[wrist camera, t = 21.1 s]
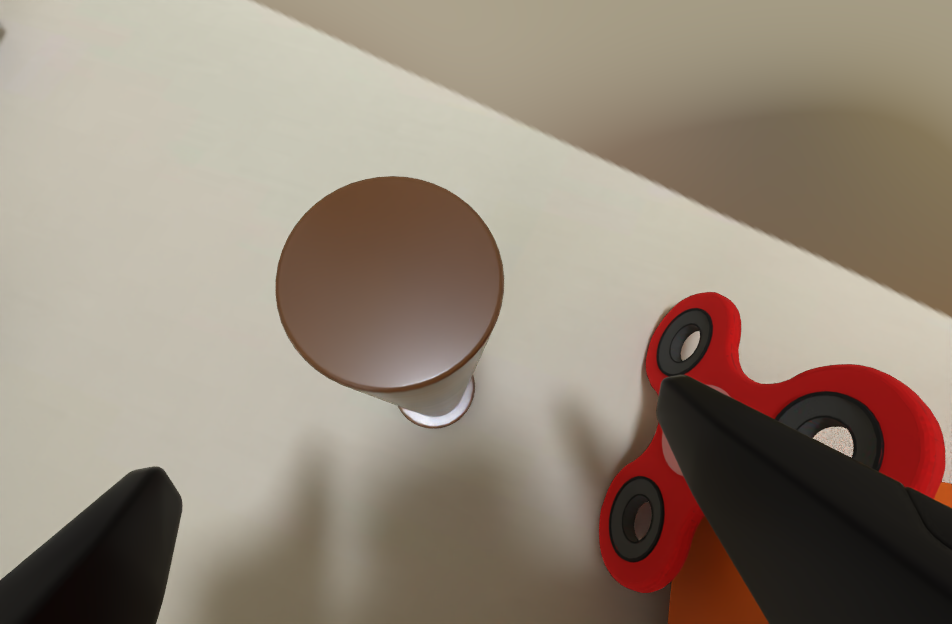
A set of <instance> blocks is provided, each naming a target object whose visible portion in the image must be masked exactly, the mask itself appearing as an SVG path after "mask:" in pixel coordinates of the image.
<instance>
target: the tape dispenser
mask: <svg viewBox="0 0 952 624" xmlns="http://www.w3.org/2000/svg"><path fill="white" fill-rule="evenodd" d="M934 500H936V501H938V502H940V503H942V504H944V505H947V506H949V507H951V508H952V484H949V483H945V482H941V484H940V486H939V488H938V491H937V493H936V495H935V498H934ZM668 624H769V623H768V621H767V619H766V618H765V616H764V614H763V613H762V611H761V609H760V608H759V606H758V604H757V603H756V601H755V599H754V597H753V596H752V594H751V592H750V591H749V589H748V587H747V586H746V584H745V582H744V581H743V579H742V577H741V576H740V574H739V572H738V571H737V569H736V567H735V566H734V564H733V562H732V561H731V559H730V557H729V556H728V554H727V552H726V551H725V549H724V547H723V545H722V544H721V542H720V540H719V539H718V537H717V535H716V534H715V532H714V530H713V529H712V527H711V525H710V524H709V522H708V520H707V519H706V517H705V516H704V517H703V519H702V520H701V522H700V523H699V525H698V527H697V529H696V531H695V534H694V536H693V539H692V543H691V547H690V550H689V553H688V556H687V559H686V561H685V563H684V565H683V567H682V569H681V570H680V572H679V573H678V574H677V576H676V577H675V578H674V579H673V581H672V583H671V593H670V604H669V615H668Z"/></svg>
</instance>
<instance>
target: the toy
mask: <svg viewBox="0 0 952 624" xmlns="http://www.w3.org/2000/svg"><path fill="white" fill-rule="evenodd" d="M696 331H700V340H699V344H698V346H697V348H696V350H695V351H694V353H693V354H692V355H691V356H690V357H689V358H687V359H686V360H684V361H682V360H681V354H680V353H681V348H682V346H683V344H684V342H685V340H686V339H687V338H688V337H689V336H690V335H691V334H692V333H694V332H696ZM740 337H741V319H740V314H739V311H738V309H737V308H736V306H735V305H734V304H733V303H732V302H731V300H729V299H728V298H726V297H724V296H722V295H720V294H718V293H716V292H705V293H699V294H695V295H692V296H689V297H687V298H685V299H684V300H682V301H681V302H679V303H678V304H677V305H675V306H674V307H673V308H672V309H671V310H670V311H669V313H668V314H667V315H666V316H665V317H664V318H663V320H662V321H661V323H660V324H659V326H658V327H657V328H656V330H655V332H654V334H653V336H652V338H651V341H650V344H649V347H648V352H647V357H646V372H647V376H648V379H649V381H650V384H651V386H652V387H653V389H654V390H655V391H656V392H657V394H658V397H659V391H660V385H661V382H662V380H663V379H664V378H666V377H671V376H677V375H687V376H689V377H691V378H693V379H695V380H697V381H699V382H701V383H703V384H705V385H707V386H709V387H711V388H713V389H715V390H717V391H719V392H721V393H723V394H725V395H727V396H729V397H731V398H733V399H735V400H737V401H739V402H741V403H743V404H745V405H747V406H749V407H751V408H753V409H755V410H757V411H759V412H761V413H763V414H765V415H767V416H769V417H771V418H773V419H775V420H777V421H779V422H781V423H783V424H785V425H787V426H789V427H791V428H793V429H795V430H797V431H799V432H801V433H803V434H805V435H807V436H809V437H811V438H813V437H814V436H815V435H816V434H817V433H818V432H819V431H821V430H823V429H825V428H828V427H844V428H847V429H848V430H849V432H850V434H851V436H852V439H853V444H854V450H853V456H852V458H853V459H855V460H856V461H858V462H860V463H862V464H864V465H866V466H868V467H870V468H872V469H874V470H876V471H878V472H880V473H882V474H884V475H886V476H888V477H890V478H892V479H894V480H896V481H898V482H900V483H902V484H903V485H904V487H910V488H912V489H914V490H916V491H918V492H920V493H922V494H924V495H926V496H928V497H930V498H932V499H934V498H935V495H936V493H937V491H938V488H939V486H940V484H941V481H942V478H943V474H944V471H945V446H944V439H943V434H942V431H941V429H940V426H939V423H938V421H937V420H936V418H935V416H934V415H933V413H932V412H931V410H930V409H929V408H928V406H927V405H926V404H925V403H924V402H923V401H922V400H921V398H920V397H919V396H918V395H917V394H916V393H915V392H914V391H912V390H911V389H910V388H909V387H908V386H906V385H905V384H903V383H902V382H900V381H899V380H897V379H896V378H894V377H892V376H890V375H888V374H886V373H884V372H881V371H879V370H876V369H874V368H870V367H866V366H861V365H852V364H842V365H829V366H823V367H818V368H814V369H811V370H807V371H805V372H803V373H800V374H798V375H796V376H795V377H793V378H791V379H790V380H787V381H784V382H781V383H775V384H760V383H757V382H754V381H753V380H751V379H750V378H748V377H747V376H746V375H745V374H744V372H743V371H742V369H741V366H740V363H739V353H738V348H739V343H740ZM648 501H649V503H650V505H651V510H652V520H651V525H650V528H649V530H648V532H647V534H646V535H645V536H644V538H642V539H641V540H638V539H637V537H636V534H635V530H634V521H635V516H636V513H637V511H638V509H639V508H640V506H641V505H642V504H643V503H645V502H648ZM704 516H705V515H704V514H703V512H702V510H701V509H700V507H699V505H698V503H697V502H696V500H695V498H694V496H693V495H692V492H691V490H690V488H689V486H688V484H687V482H686V480H685V478H684V476H683V474H682V472H681V469H680V467H679V465H678V463H677V461H676V459H675V456H674V454H673V452H672V450H671V448H670V446H669V443H668V441H667V439H666V437H665V435H664V433H663V431H662V428H661V426H660V424H659V422H658V426H657V430H656V433H655V435H654V437H653V440H652V442H651V443H650V445H649V446H648V448H647V449H646V450H645V451H644V452H643V454H642V455H641V456H639V457H638V458H637V459H636V460H634V461H633V462H631V463H629V464H627V465H626V466H625V467H624V468H623V469H622V470H621V471H620V472H619V473H618V474H617V475H616V476H615V478H614V479H613V481H612V483H611V485H610V487H609V489H608V491H607V493H606V496H605V499H604V502H603V505H602V508H601V513H600V522H599V544H600V549H601V555H602V558H603V561H604V564H605V566H606V568H607V569H608V571H609V573H610V574H611V576H612V577H613V578H614V579H615V580H616V581H617V582H618V583H620V584H621V585H622V586H624V587H626V588H628V589H631V590H634V591H637V592H641V593H651V592H655V591H658V590H660V589H662V588H664V587H665V586H666V585H668V584H669V583H670V582H671V581H673V579H674V578H675V577H676V576H677V574H678V573H679V572H680V570H681V569H682V567H683V565H684V563H685V561H686V559H687V556H688V553H689V550H690V547H691V543H692V539H693V536H694V534H695V531H696V529H697V527H698V525H699V523H700V522H701V520H702V519H703V517H704Z"/></svg>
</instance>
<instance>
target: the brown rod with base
mask: <svg viewBox="0 0 952 624" xmlns="http://www.w3.org/2000/svg"><path fill="white" fill-rule="evenodd" d="M503 293H504V273H503V264H502V260H501V256H500V252H499V249H498V247H497V244H496V242H495V239H494V237H493V235H492V234H491V232H490V230H489V228H488V227H487V225H486V224H485V223H484V221H483V220H482V219H481V217H480V216H479V215H478V214H477V213H476V212H475V211H474V210H473V209H472V208H471V207H470V206H469V205H468V204H467V203H465V202H464V201H463V200H462V199H460V198H459V197H458V196H456V195H455V194H453V193H451V192H450V191H448V190H446V189H444V188H442V187H440V186H437V185H435V184H433V183H429V182H426V181H423V180H419V179H414V178H408V177H396V176H390V177H376V178H371V179H365V180H361V181H358V182H355V183H351V184H349V185H347V186H344V187H342V188H340V189H338V190H336V191H334V192H332V193H331V194H329V195H327V196H326V197H324V198H323V199H322V200H320V201H319V202H318V203H316V204H315V205H314V206H313V207H312V208H311V209H310V210H309V211H308V212H306V213H305V214H304V216H303V217H302V218H301V219H300V221H299V222H298V223H297V224H296V225H295V227H294V229H293V230H292V232H291V234H290V235H289V237H288V239H287V241H286V243H285V245H284V248H283V250H282V253H281V256H280V260H279V263H278V268H277V275H276V301H277V309H278V312H279V316H280V319H281V323H282V325H283V327H284V330H285V332H286V334H287V336H288V338H289V339H290V341H291V343H292V344H293V346H294V347H295V349H296V350H297V351H298V352H299V354H300V355H301V356H302V357H303V358H304V360H305V361H307V362H308V363H309V364H310V365H311V366H312V367H313V368H314V369H316V370H317V371H318V372H320V373H321V374H323V375H324V376H326V377H327V378H329V379H331V380H333V381H335V382H337V383H339V384H341V385H343V386H346V387H349V388H352V389H354V390H357V391H360V392H362V393H365V394H368V395H370V396H373V397H376V398H378V399H381V400H384V401H387V402H389V403H392V404H395V405H397V406H398V408H399V409H400V411H401V412H402V414H403V415H404V416H405V417H406V418H407V419H408V420H410V421H411V422H413V423H414V424H416V425H419V426H422V427H425V428H442V427H446V426H448V425H451V424H453V423H455V422H456V421H457V420H459V419H460V418H461V417H462V416H463V415H464V414H465V413H466V412H467V410H468V409H469V407H470V405H471V403H472V400H473V397H474V392H475V383H474V377H473V372H474V370H475V368H476V366H477V363H478V361H479V359H480V357H481V355H482V352H483V350H484V348H485V346H486V344H487V341H488V339H489V337H490V335H491V332H492V330H493V328H494V326H495V324H496V321H497V319H498V316H499V312H500V309H501V306H502V299H503Z"/></svg>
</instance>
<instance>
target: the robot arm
mask: <svg viewBox="0 0 952 624" xmlns="http://www.w3.org/2000/svg"><path fill="white" fill-rule="evenodd" d="M656 412H657V418H658V422H659V424H660V426H661V428H662V431H663V433H664V435H665V437H666V439H667V441H668V443H669V446H670V448H671V450H672V452H673V454H674V456H675V459H676V461H677V463H678V465H679V467H680V469H681V472H682V474H683V476H684V478H685V480H686V482H687V484H688V486H689V488H690V490H691V492H692V495H693V496H694V498H695V500H696V502H697V503H698V505H699V507H700V509H701V510H702V512H703V514H704V515H705V517H706V519H707V520H708V522H709V524H710V525H711V527H712V529H713V530H714V532H715V534H716V535H717V537H718V539H719V540H720V542H721V544H722V545H723V547H724V549H725V551H726V552H727V554H728V556H729V557H730V559H731V561H732V562H733V564H734V566H735V567H736V569H737V571H738V572H739V574H740V576H741V577H742V579H743V581H744V582H745V584H746V586H747V587H748V589H749V591H750V592H751V594H752V596H753V597H754V599H755V601H756V603H757V604H758V606H759V608H760V609H761V611H762V613H763V614H764V616H765V618H766V619H767V621H768V623H769V624H952V508H951V507H949V506H947V505H944V504H942V503H940V502H938V501H936V500H934V499H932V498H930V497H928V496H926V495H924V494H922V493H920V492H918V491H916V490H914V489H912V488H910V487H904V485H903V484H902V483H900V482H898V481H896V480H894V479H892V478H890V477H888V476H886V475H884V474H882V473H880V472H878V471H876V470H874V469H872V468H870V467H868V466H866V465H864V464H862V463H860V462H858V461H856V460H855V459H853V458H851V457H849V456H847V455H845V454H843V453H841V452H839V451H837V450H835V449H833V448H831V447H829V446H827V445H825V444H823V443H821V442H819V441H817V440H815V439H813V438H811V437H809V436H807V435H805V434H803V433H801V432H799V431H797V430H795V429H793V428H791V427H789V426H787V425H785V424H783V423H781V422H779V421H777V420H775V419H773V418H771V417H769V416H767V415H765V414H763V413H761V412H759V411H757V410H755V409H753V408H751V407H749V406H747V405H745V404H743V403H741V402H739V401H737V400H735V399H733V398H731V397H729V396H727V395H725V394H723V393H721V392H719V391H717V390H715V389H713V388H711V387H709V386H707V385H705V384H703V383H701V382H699V381H697V380H695V379H693V378H691V377H689V376H687V375H677V376H671V377H666V378H664V379H663V380H662V382H661V385H660V391H659V397H658V403H657V410H656ZM181 513H182V499H181V496H180V494H179V492H178V491H177V489H176V488H175V486H174V485H173V483H172V482H171V480H170V479H169V477H168V475H167V474H166V472H165V471H164V470H163V469H162V468H160V467H149V468H143V469H138V470H134V471H132V472H130V473H128V474H127V475H126V476H125V477H123V478H122V479H121V480H120V481H119V482H117V483H116V484H115V485H114V486H113V487H111V488H110V489H109V490H108V491H107V492H105V493H104V494H103V495H102V496H101V497H99V498H98V499H97V500H96V501H95V502H93V503H92V504H91V505H90V506H89V507H87V508H86V509H85V510H84V511H83V512H81V513H80V514H79V515H78V516H77V517H75V518H74V519H73V520H72V521H71V522H69V523H68V524H67V525H66V526H65V527H64V528H62V529H61V530H60V531H59V532H58V533H56V534H55V535H54V536H53V537H52V538H50V539H49V540H48V541H47V542H46V543H44V544H43V545H42V546H41V547H40V548H38V549H37V550H36V551H35V552H34V553H32V554H31V555H30V556H29V557H28V558H26V559H25V560H24V561H23V562H22V563H20V564H19V565H18V566H17V567H16V568H14V569H13V570H12V571H11V572H10V573H8V574H7V575H6V576H5V577H4V578H2V579H1V580H0V624H156V622H157V619H158V615H159V612H160V609H161V605H162V602H163V598H164V594H165V589H166V585H167V581H168V576H169V571H170V566H171V561H172V557H173V552H174V547H175V542H176V537H177V533H178V528H179V523H180V518H181Z"/></svg>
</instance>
